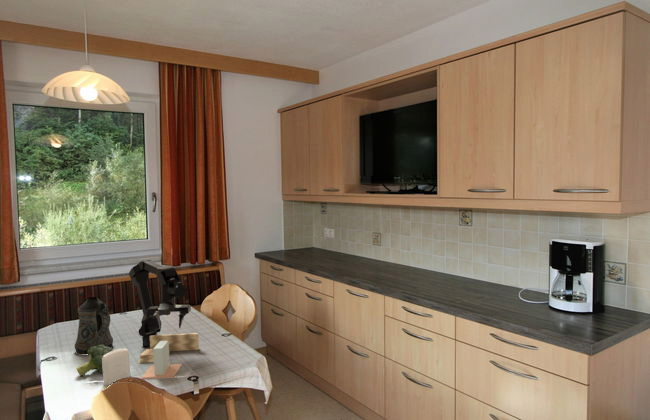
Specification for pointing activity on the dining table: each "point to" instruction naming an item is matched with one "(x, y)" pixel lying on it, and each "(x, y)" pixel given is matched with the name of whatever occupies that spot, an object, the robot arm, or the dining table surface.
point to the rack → (177, 341)
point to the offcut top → (147, 354)
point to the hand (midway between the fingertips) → (169, 328)
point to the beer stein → (93, 326)
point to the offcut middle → (147, 360)
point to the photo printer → (115, 365)
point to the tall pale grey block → (161, 357)
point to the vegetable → (94, 359)
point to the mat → (169, 373)
